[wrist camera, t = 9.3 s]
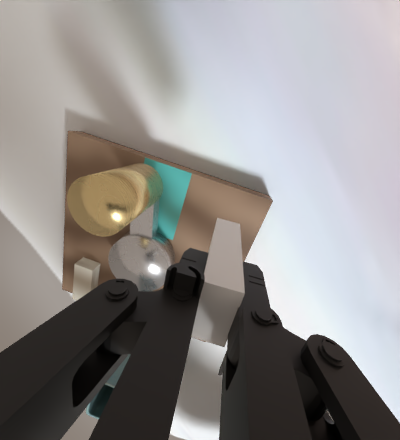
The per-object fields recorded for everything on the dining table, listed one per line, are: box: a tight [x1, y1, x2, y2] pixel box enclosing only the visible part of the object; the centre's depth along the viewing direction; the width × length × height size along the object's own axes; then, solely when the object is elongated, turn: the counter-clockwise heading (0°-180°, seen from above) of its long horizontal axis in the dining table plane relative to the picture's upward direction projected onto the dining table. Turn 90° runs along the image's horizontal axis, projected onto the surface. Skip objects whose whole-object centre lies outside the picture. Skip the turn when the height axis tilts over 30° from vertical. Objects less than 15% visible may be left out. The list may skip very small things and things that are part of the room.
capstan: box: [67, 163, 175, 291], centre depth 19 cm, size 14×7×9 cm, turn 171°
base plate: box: [62, 131, 273, 342], centre depth 25 cm, size 22×22×4 cm
